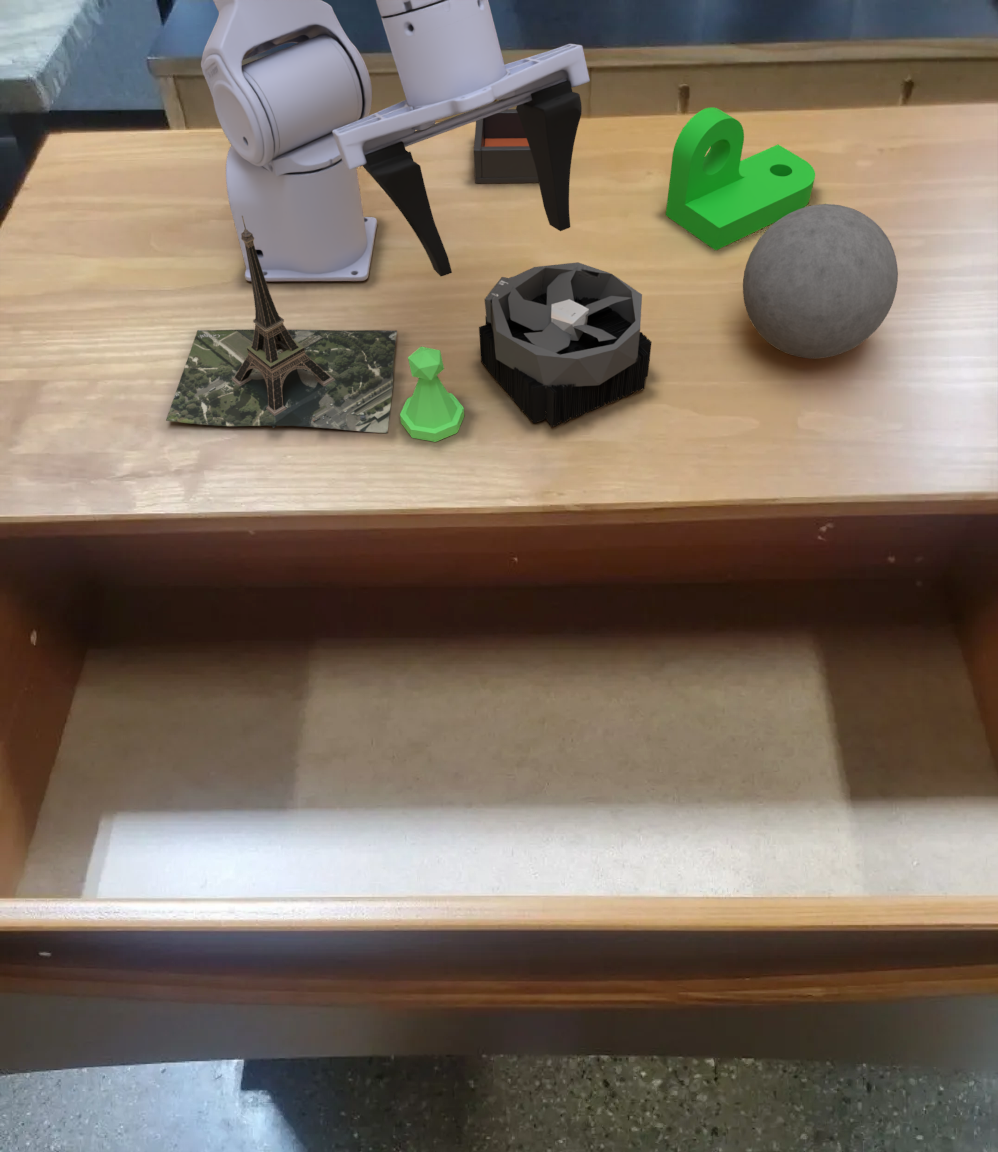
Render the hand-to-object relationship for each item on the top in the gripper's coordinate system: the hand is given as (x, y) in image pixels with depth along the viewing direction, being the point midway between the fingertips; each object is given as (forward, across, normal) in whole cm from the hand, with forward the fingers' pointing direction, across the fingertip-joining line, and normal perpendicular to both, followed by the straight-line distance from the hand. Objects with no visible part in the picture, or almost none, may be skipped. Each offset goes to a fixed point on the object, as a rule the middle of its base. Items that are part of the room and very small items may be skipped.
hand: (501, 248), depth 62 cm
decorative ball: (+15, +20, +2) cm, 25 cm away
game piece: (+10, -7, +3) cm, 13 cm away
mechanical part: (+9, +24, +18) cm, 31 cm away
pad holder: (+2, +10, +30) cm, 31 cm away
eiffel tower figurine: (+6, -15, +10) cm, 19 cm away
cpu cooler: (+11, +3, +5) cm, 12 cm away
